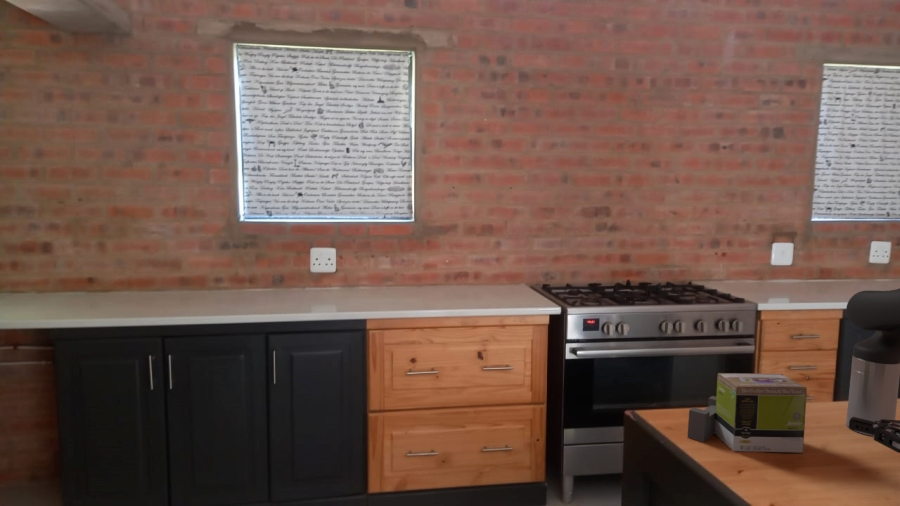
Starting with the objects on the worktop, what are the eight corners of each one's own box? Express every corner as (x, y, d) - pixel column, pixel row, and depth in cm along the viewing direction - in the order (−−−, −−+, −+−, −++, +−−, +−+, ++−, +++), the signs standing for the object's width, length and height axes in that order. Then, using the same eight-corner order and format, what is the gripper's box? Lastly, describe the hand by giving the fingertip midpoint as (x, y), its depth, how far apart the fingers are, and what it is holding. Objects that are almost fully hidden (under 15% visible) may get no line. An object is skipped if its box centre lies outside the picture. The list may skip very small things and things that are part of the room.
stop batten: (710, 421, 142) (712, 395, 142) (726, 425, 140) (727, 399, 139) (687, 437, 133) (689, 409, 132) (703, 442, 130) (705, 414, 130)
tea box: (778, 435, 135) (783, 372, 134) (803, 454, 125) (809, 387, 124) (712, 433, 135) (717, 370, 134) (732, 452, 125) (737, 385, 124)
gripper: (970, 421, 109) (858, 395, 121) (965, 443, 100) (844, 413, 112) (965, 459, 110) (854, 430, 122) (959, 484, 100) (840, 450, 112)
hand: (850, 422), depth 117 cm, fingers closed
